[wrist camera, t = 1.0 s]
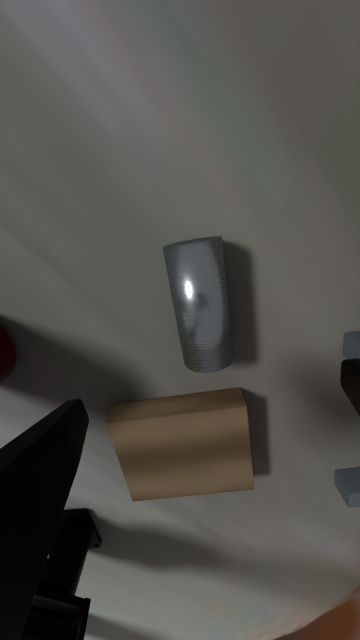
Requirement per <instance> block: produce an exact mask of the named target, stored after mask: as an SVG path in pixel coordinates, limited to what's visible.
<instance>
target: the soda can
mask: <svg viewBox="0 0 360 640" xmlns="http://www.w3.org/2000/svg"><path fill="white" fill-rule="evenodd" d="M16 358H17V357H16V348H15V344H14V341H13V339H12V337H11V335H10V334H9V332H8V331H7V330H6V328H5V327H4V326H3V325H2V324H1V323H0V383H1V382H2V381H3V380H4V379H5V378H7V377H8V375H9V374H10V373H11V372H12V371H13V368H14V366H15V363H16Z"/></svg>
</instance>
